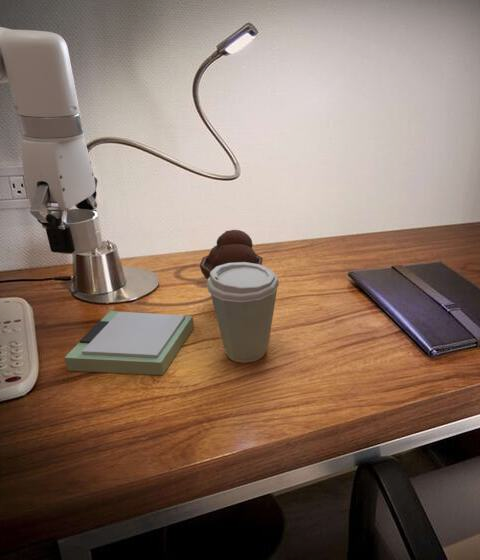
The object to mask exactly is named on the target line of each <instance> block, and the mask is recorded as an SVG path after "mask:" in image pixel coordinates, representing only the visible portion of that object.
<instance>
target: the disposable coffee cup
mask: <svg viewBox="0 0 480 560" xmlns="http://www.w3.org/2000/svg"><path fill="white" fill-rule="evenodd" d="M279 286H280V283H279V278H278V276H277V274H276V273H275V272H274V271H273V270H272V269H271V268H268V267H266V266H265V265H263V264H262V265H260V264H254V263H247V262H237V263H227V264H223V265H220V266H216V267H215V268H214V269H213V270H212V271H211V272H210V277H209V278H208V280H207V279H206V287H207V288H206V289H207V291H208V294H210V296H211V300H212V304H213V309H214V313H215V316H216V320H217V324H218V328H219V332H220V335H221V340H222V344H223V348H224V350H225V351H224V352H225V354H226V356H227V357H228V359H230V360H232V361H233V362H235V363H241V364H248V363H253V362H257V361H259V360H260V359H262V358H263V357H264V356H265V354H266V352H267V350H268V349H269V343H270V339H271V338H270V336H271V331H272V324H273V318H274V311H275V306H276V299H277V292H278V291H277V290H278V287H279Z"/></svg>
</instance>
